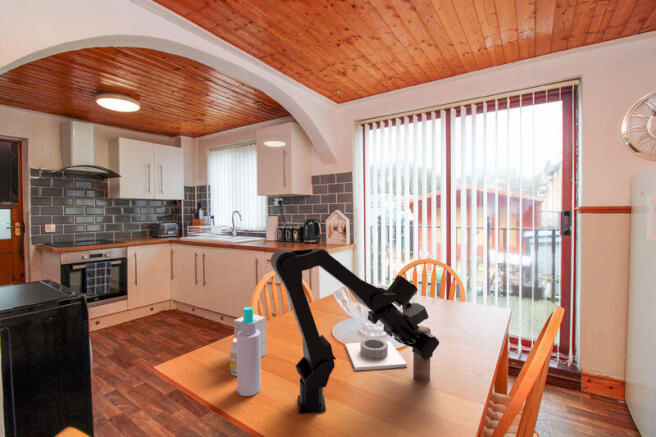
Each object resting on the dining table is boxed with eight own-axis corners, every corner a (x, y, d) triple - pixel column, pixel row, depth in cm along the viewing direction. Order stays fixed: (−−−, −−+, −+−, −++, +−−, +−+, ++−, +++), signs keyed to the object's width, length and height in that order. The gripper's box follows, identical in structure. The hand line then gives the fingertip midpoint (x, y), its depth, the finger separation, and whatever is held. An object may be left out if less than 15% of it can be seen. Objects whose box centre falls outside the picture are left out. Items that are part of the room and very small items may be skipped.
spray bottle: (261, 382, 85) (260, 304, 84) (259, 396, 79) (259, 311, 78) (239, 384, 84) (238, 305, 83) (235, 398, 78) (234, 312, 77)
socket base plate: (406, 367, 93) (406, 354, 93) (355, 370, 91) (355, 357, 91) (389, 343, 109) (389, 332, 109) (345, 346, 107) (345, 335, 107)
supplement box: (250, 349, 105) (250, 312, 104) (266, 354, 101) (266, 316, 100) (233, 358, 99) (233, 319, 98) (250, 364, 95) (249, 324, 94)
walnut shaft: (433, 381, 85) (433, 331, 85) (417, 382, 85) (417, 332, 84) (425, 372, 90) (426, 325, 89) (410, 373, 89) (411, 326, 89)
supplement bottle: (228, 376, 88) (227, 343, 87) (232, 367, 93) (232, 336, 93) (247, 375, 88) (247, 343, 88) (250, 366, 93) (250, 335, 93)
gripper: (433, 306, 76) (467, 342, 81) (392, 288, 94) (421, 318, 98) (406, 342, 74) (442, 378, 78) (369, 316, 91) (400, 347, 95)
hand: (425, 352), depth 87 cm, fingers closed on walnut shaft, 5 cm apart
